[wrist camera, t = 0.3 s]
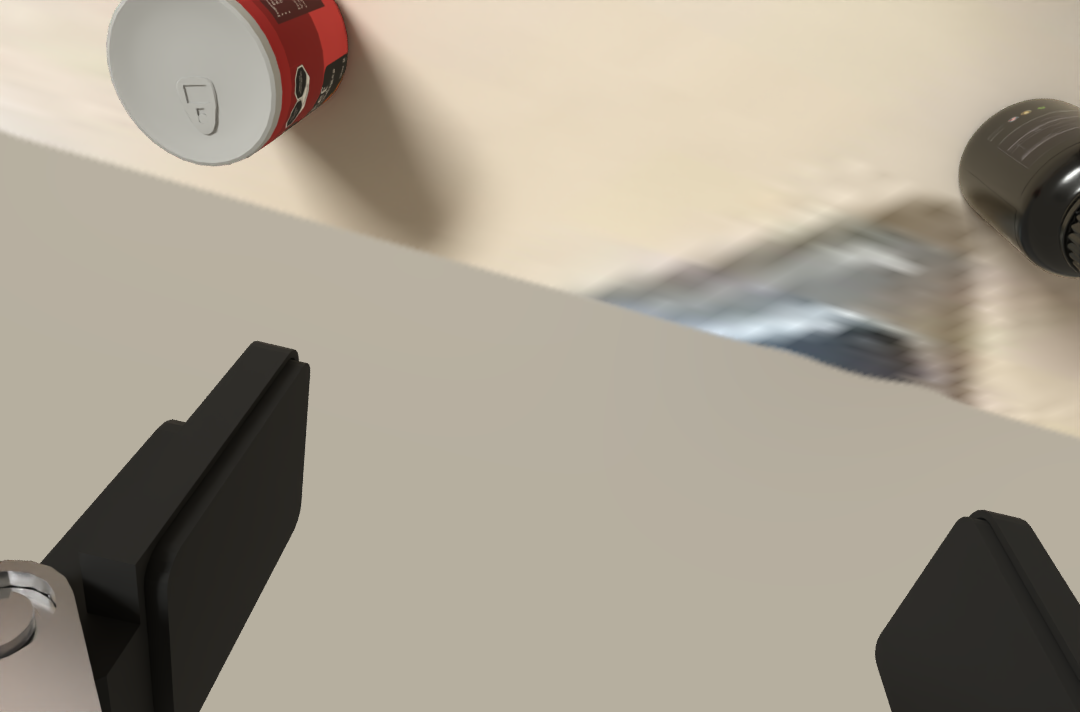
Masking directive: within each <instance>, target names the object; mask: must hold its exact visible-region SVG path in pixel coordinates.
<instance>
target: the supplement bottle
mask: <svg viewBox="0 0 1080 712" xmlns="http://www.w3.org/2000/svg"><path fill="white" fill-rule="evenodd" d="M959 183H960V188H961V191H962V194H963V196H964V198H965V199H966V201H967V202H968V204H969V205H970V206H971V207H972V208H973V209H974V210H975V211H976V212H977V213H978V214H979V215H980V216H981V217H982V218H983V219H984V220H985V221H986V222H988V223H989V224H990V225H991V226H992V227H993V228H994V229H995V230H996V231H997V232H999V233H1000V234H1001V235H1002V236H1003V237H1004V238H1005V239H1006V240H1007V241H1009V242H1010V243H1011V244H1012V245H1013V246H1014V247H1015V248H1016V249H1017V250H1018V251H1020V252H1021V253H1022V254H1023V255H1024V256H1025V257H1026V258H1027V259H1028V260H1030V261H1031V262H1032V263H1033V264H1035V265H1036V266H1037V267H1039V268H1041V269H1042V270H1044V271H1046V272H1048V273H1050V274H1053V275H1056V276H1060V277H1065V278H1074V279H1080V108H1079V107H1077V106H1074V105H1072V104H1069V103H1067V102H1064V101H1060V100H1055V99H1032V100H1026V101H1023V102H1019V103H1016V104H1013V105H1011V106H1009V107H1007V108H1005V109H1003V110H1001V111H999V112H998V113H996V114H995V115H993V116H992V117H991V118H989V119H988V120H987V121H986V122H985V123H983V124H982V125H981V126H980V128H979V129H978V130H977V131H976V132H975V133H974V135H973V136H972V137H971V139H970V140H969V142H968V144H967V145H966V148H965V150H964V152H963V155H962V157H961V161H960V166H959Z"/></svg>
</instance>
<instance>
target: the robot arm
mask: <svg viewBox="0 0 1080 712" xmlns="http://www.w3.org/2000/svg"><path fill="white" fill-rule="evenodd" d="M309 381H310V366H309V364H308V363H304V362H299V358H298V353H297V351H296V350H294V349H289V348H285V347H281V346H277V345H273V344H268V343H264V342H260V341H254V342H253V343H252V344H251V345H250V346H249V347H248V348H247V349H246V350H245V352H244V353H243V354H242V355H241V356H240V358H239V359H238V360H237V361H236V362H235V364H234V365H233V366H232V367H231V368H230V370H229V371H228V372H227V373H226V375H225V376H224V377H223V378H222V379H221V381H220V382H219V383H218V384H217V385H216V387H215V388H214V389H213V390H212V391H211V393H210V394H209V395H208V396H207V398H206V399H205V400H204V401H203V402H202V404H201V405H200V406H199V407H198V408H197V410H196V411H195V412H194V413H193V414H192V416H191V417H190V418H189V419H188V420H187V422H181V421H177V420H173V419H172V420H169V421H166V422H164V423H163V424H162V425H161V426H160V427H159V428H158V429H157V430H156V431H155V432H154V433H153V434H152V436H151V437H150V438H149V439H148V440H147V441H146V442H145V444H144V445H143V446H142V447H141V448H140V449H139V450H138V452H137V453H136V454H135V455H134V456H133V457H132V458H131V460H130V461H129V462H128V463H127V464H126V465H125V467H124V468H123V469H122V470H121V471H120V472H119V473H118V475H117V476H116V477H115V478H114V479H113V480H112V482H111V483H110V484H109V485H108V486H107V487H106V488H105V489H104V491H103V492H102V493H101V494H100V495H99V496H98V498H97V499H96V500H95V501H94V502H93V503H92V505H91V506H90V507H89V508H88V509H87V510H86V511H85V512H84V514H83V515H82V516H81V517H80V518H79V519H78V521H77V522H76V523H75V524H74V525H73V526H72V527H71V529H70V530H69V531H68V532H67V533H66V534H65V535H64V537H63V538H62V539H61V540H60V541H59V542H58V544H57V545H56V546H55V547H54V548H53V549H52V550H51V552H50V553H49V554H48V555H47V556H46V557H45V558H44V560H43V561H42V562H41V563H37V562H33V561H22V560H4V561H0V712H199V711H200V710H201V708H202V706H203V704H204V702H205V700H206V698H207V696H208V694H209V692H210V690H211V688H212V687H213V685H214V683H215V681H216V679H217V677H218V675H219V673H220V671H221V669H222V667H223V665H224V664H225V661H226V660H227V657H228V656H229V654H230V652H231V650H232V648H233V646H234V644H235V642H236V640H237V639H238V637H239V635H240V633H241V631H242V629H243V627H244V625H245V623H246V621H247V619H248V617H249V615H250V614H251V612H252V610H253V608H254V606H255V604H256V602H257V600H258V598H259V596H260V594H261V592H262V590H263V589H264V586H265V585H266V583H267V581H268V579H269V577H270V575H271V573H272V571H273V569H274V567H275V566H276V564H277V562H278V560H279V558H280V556H281V554H282V552H283V550H284V548H285V546H286V544H287V543H288V541H289V539H290V537H291V534H292V533H293V531H294V529H295V526H296V523H297V521H298V517H299V514H300V508H301V499H302V484H303V470H304V455H305V439H306V425H307V411H308V396H309ZM875 658H876V663H877V667H878V670H879V673H880V676H881V679H882V682H883V685H884V688H885V692H886V695H887V698H888V701H889V704H890V708H891V711H892V712H1080V604H1079V603H1078V601H1077V600H1076V598H1075V596H1074V595H1073V593H1072V592H1071V590H1070V589H1069V587H1068V585H1067V584H1066V582H1065V580H1064V579H1063V578H1062V576H1061V574H1060V572H1059V571H1058V569H1057V568H1056V566H1055V564H1054V563H1053V561H1052V560H1051V558H1050V557H1049V555H1048V553H1047V552H1046V550H1045V549H1044V547H1043V545H1042V544H1041V542H1040V541H1039V539H1038V538H1037V536H1036V534H1035V533H1034V531H1033V529H1032V528H1031V526H1030V525H1029V524H1028V523H1027V522H1026V521H1024V520H1022V519H1020V518H1016V517H1011V516H1007V515H1003V514H999V513H994V512H990V511H986V510H977V511H976V512H974V513H972V514H971V515H970V516H969V517H962V518H960V519H959V520H958V521H957V522H956V523H955V525H954V526H953V528H952V529H951V531H950V532H949V534H948V535H947V537H946V538H945V540H944V541H943V543H942V544H941V545H940V547H939V548H938V550H937V551H936V553H935V554H934V556H933V557H932V559H931V560H930V562H929V563H928V565H927V566H926V568H925V569H924V571H923V572H922V574H921V575H920V577H919V578H918V580H917V581H916V583H915V584H914V586H913V587H912V589H911V590H910V591H909V593H908V594H907V596H906V598H905V599H904V600H903V602H902V603H901V605H900V606H899V608H898V609H897V611H896V612H895V614H894V615H893V617H892V618H891V620H890V621H889V623H888V624H887V626H886V627H885V628H884V630H883V632H882V633H881V634H880V636H879V638H878V640H877V644H876V650H875Z"/></svg>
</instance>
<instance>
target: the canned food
mask: <svg viewBox="0 0 1080 712" xmlns="http://www.w3.org/2000/svg"><path fill="white" fill-rule="evenodd" d="M106 47H107V63H108V67H109V72H110V76H111V80H112V83H113V85H114V88H115V90H116V93H117V95H118V98H119V100H120V101H121V103H122V105H123V106H124V108H125V110H126V112H127V113H128V115H129V116H130V117H131V119H132V120H133V121H134V123H135V124H136V125H137V126H138V128H139V129H140V130H141V131H142V132H143V133H144V134H145V135H146V136H147V137H148V138H149V139H150V140H152V141H153V142H154V143H155V144H157V145H158V146H159V147H161V148H162V149H164V150H165V151H166V152H168V153H170V154H172V155H174V156H176V157H178V158H180V159H182V160H184V161H188V162H191V163H195V164H198V165H206V166H222V165H230V164H232V163H235V162H238V161H240V160H243V159H245V158H248V157H250V156H251V155H253V154H254V153H256V152H257V151H259V150H260V149H262V148H263V147H265V146H266V145H268V144H269V143H270V142H272V141H273V140H274V139H276V138H277V137H279V136H280V135H281V134H283V133H284V132H285V131H287V130H288V129H289V128H291V127H292V126H293V125H295V124H296V123H297V122H299V121H300V120H301V119H303V118H304V117H305V116H307V115H308V114H309V113H311V112H312V111H313V110H315V109H316V108H317V107H319V106H320V105H321V104H323V103H324V102H325V101H327V100H328V99H329V98H330V97H331V96H332V94H333V93H334V92H335V91H336V90H337V88H338V86H339V84H340V82H341V81H342V78H343V75H344V72H345V69H346V63H347V54H348V40H347V32H346V28H345V24H344V20H343V17H342V15H341V13H340V10H339V8H338V6H337V4H336V3H335V1H334V0H122V1H121V2H120V4H119V5H118V7H117V8H116V10H115V11H114V14H113V16H112V19H111V22H110V24H109V28H108V35H107V42H106Z"/></svg>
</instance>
